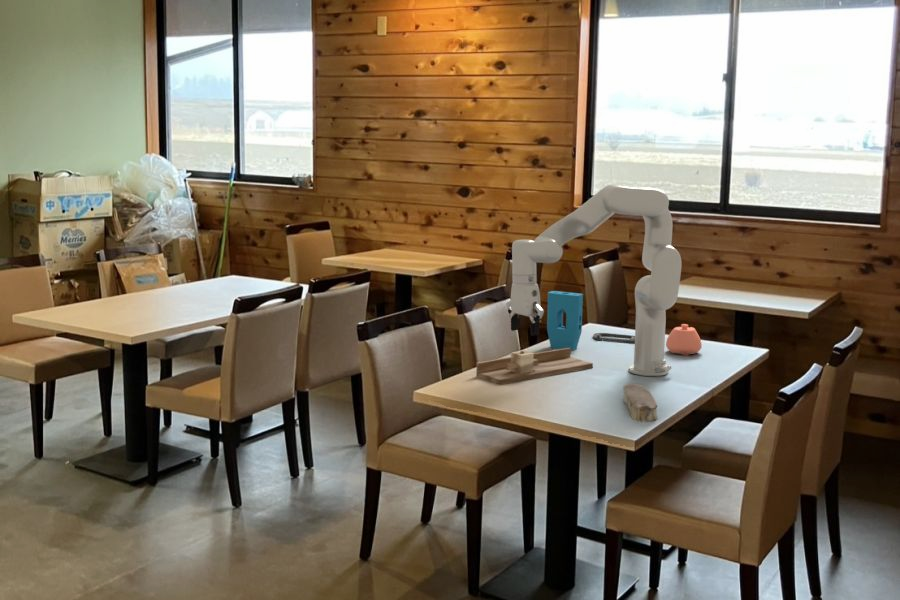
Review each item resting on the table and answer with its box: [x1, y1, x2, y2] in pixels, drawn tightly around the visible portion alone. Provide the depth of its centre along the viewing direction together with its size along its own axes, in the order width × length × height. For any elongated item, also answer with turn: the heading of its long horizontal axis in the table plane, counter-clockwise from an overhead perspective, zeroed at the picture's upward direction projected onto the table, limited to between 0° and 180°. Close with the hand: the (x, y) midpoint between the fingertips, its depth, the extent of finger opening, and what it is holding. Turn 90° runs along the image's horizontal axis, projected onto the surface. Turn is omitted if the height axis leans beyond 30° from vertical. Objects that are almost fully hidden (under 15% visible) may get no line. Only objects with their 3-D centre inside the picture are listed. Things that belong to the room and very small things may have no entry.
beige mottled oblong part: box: [622, 383, 658, 423], centre depth 276 cm, size 24×8×5 cm, turn 179°
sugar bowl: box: [665, 323, 703, 357], centre depth 346 cm, size 12×14×10 cm
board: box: [476, 348, 594, 385], centre depth 317 cm, size 12×39×4 cm, turn 125°
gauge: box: [506, 350, 539, 374], centre depth 311 cm, size 5×12×7 cm, turn 125°
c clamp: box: [592, 332, 635, 345], centre depth 366 cm, size 20×17×3 cm
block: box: [546, 290, 584, 351], centre depth 350 cm, size 12×5×20 cm, turn 59°
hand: (525, 332), depth 310 cm, fingers open, 9 cm apart
